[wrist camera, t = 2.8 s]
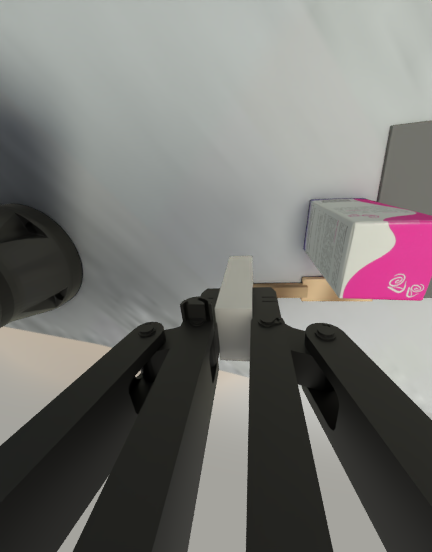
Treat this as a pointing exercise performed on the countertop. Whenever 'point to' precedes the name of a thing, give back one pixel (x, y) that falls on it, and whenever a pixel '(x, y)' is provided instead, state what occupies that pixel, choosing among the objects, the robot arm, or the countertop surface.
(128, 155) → the countertop surface
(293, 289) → the turner
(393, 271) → the supplement box
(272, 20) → the countertop surface
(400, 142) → the mat
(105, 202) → the countertop surface
